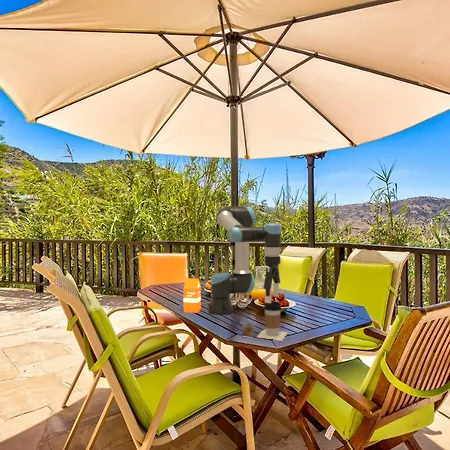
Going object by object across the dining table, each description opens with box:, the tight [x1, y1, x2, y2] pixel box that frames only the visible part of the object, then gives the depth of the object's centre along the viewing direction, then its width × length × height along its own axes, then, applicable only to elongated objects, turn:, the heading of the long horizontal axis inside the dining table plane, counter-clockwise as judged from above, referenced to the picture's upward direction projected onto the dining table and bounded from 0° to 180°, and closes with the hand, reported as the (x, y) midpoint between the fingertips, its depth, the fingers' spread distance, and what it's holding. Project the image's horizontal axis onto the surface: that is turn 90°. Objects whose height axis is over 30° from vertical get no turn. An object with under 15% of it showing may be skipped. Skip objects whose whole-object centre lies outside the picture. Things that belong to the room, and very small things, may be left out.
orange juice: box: [183, 277, 202, 314], centre depth 205 cm, size 8×9×20 cm
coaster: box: [256, 328, 288, 342], centre depth 159 cm, size 12×12×1 cm
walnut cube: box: [242, 323, 255, 338], centre depth 160 cm, size 5×5×5 cm
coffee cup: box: [263, 300, 282, 336], centre depth 160 cm, size 8×8×15 cm
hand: (272, 299), depth 160 cm, fingers open, 13 cm apart
